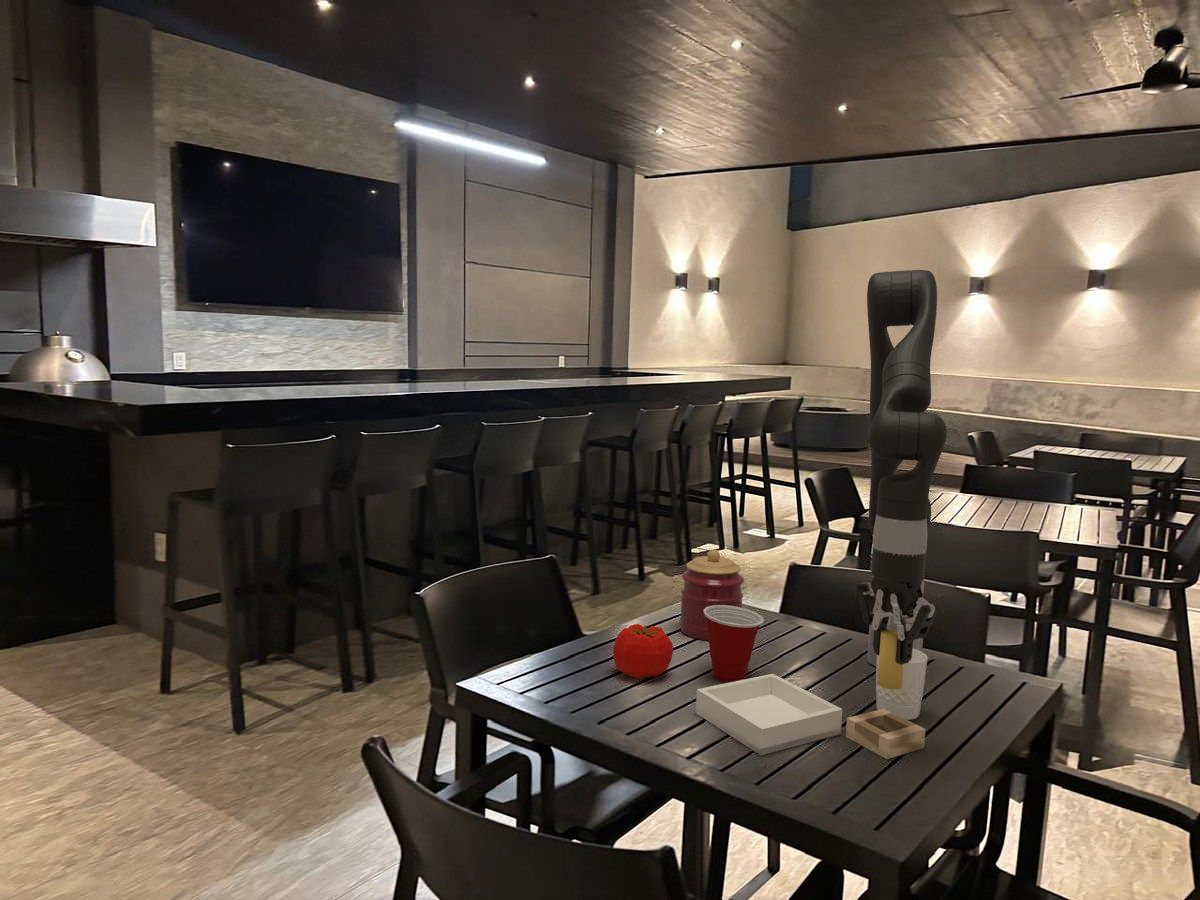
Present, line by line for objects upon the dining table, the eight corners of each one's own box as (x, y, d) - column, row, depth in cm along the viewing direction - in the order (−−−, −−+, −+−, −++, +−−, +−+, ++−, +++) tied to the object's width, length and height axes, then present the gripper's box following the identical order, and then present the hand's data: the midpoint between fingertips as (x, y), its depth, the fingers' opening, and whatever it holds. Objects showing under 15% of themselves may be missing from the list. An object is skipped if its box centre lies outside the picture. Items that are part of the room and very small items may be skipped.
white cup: (899, 725, 132) (903, 665, 131) (862, 706, 139) (866, 648, 138) (933, 717, 136) (938, 658, 134) (896, 699, 143) (900, 642, 141)
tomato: (681, 682, 147) (683, 634, 146) (623, 688, 143) (625, 639, 142) (657, 661, 157) (659, 616, 156) (603, 666, 153) (604, 621, 152)
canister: (725, 646, 166) (729, 560, 164) (668, 633, 173) (671, 550, 171) (750, 630, 177) (755, 549, 175) (696, 618, 184) (699, 540, 182)
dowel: (888, 678, 127) (892, 628, 126) (907, 686, 124) (910, 635, 123) (872, 682, 125) (875, 631, 125) (890, 691, 122) (894, 638, 122)
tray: (771, 696, 142) (772, 673, 142) (840, 734, 128) (842, 709, 128) (695, 713, 134) (696, 689, 134) (760, 755, 120) (762, 729, 120)
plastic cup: (760, 691, 144) (764, 624, 142) (697, 684, 146) (701, 618, 145) (761, 669, 154) (764, 606, 153) (702, 663, 156) (705, 601, 155)
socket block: (882, 726, 131) (883, 708, 131) (924, 748, 124) (925, 728, 124) (845, 736, 127) (846, 718, 127) (886, 759, 120) (888, 739, 120)
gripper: (957, 554, 118) (948, 670, 120) (879, 534, 130) (872, 640, 132) (921, 560, 114) (912, 679, 116) (845, 538, 127) (838, 647, 129)
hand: (891, 657), depth 124 cm, fingers closed on dowel, 3 cm apart
